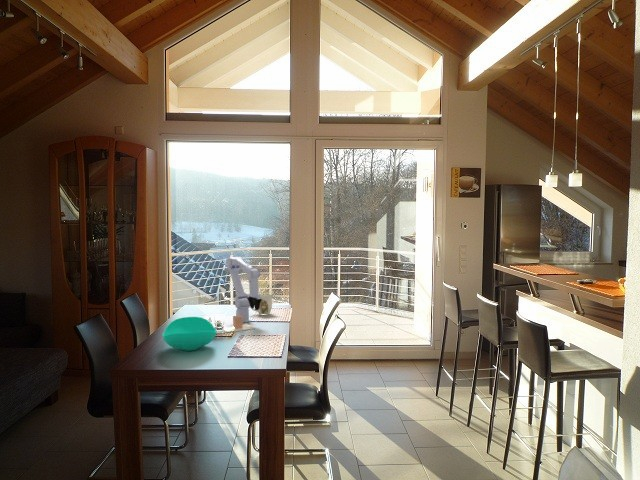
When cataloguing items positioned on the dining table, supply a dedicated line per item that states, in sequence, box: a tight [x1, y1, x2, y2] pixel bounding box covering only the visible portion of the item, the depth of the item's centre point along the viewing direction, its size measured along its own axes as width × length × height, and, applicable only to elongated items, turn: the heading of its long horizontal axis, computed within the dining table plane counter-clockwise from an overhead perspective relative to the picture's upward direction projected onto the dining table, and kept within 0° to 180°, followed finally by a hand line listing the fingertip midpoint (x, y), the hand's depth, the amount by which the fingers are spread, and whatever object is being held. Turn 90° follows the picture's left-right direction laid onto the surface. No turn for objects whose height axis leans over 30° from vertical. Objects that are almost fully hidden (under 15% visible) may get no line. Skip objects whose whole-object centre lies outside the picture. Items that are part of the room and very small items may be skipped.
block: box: [232, 315, 243, 329], centre depth 307 cm, size 4×4×7 cm
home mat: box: [233, 323, 256, 333], centre depth 307 cm, size 14×18×1 cm
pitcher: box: [250, 294, 276, 315], centre depth 348 cm, size 11×18×14 cm, turn 92°
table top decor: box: [162, 316, 217, 352], centre depth 263 cm, size 40×28×13 cm
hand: (254, 309), depth 315 cm, fingers open, 7 cm apart
